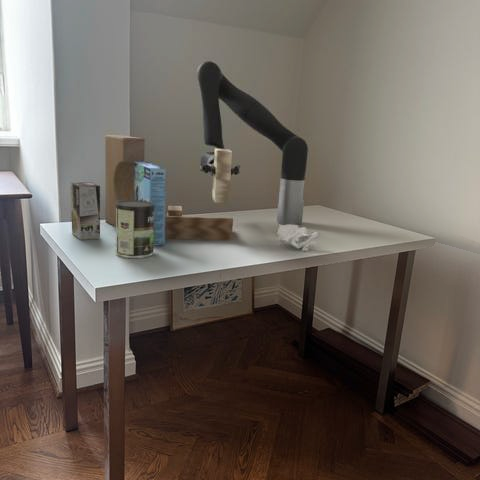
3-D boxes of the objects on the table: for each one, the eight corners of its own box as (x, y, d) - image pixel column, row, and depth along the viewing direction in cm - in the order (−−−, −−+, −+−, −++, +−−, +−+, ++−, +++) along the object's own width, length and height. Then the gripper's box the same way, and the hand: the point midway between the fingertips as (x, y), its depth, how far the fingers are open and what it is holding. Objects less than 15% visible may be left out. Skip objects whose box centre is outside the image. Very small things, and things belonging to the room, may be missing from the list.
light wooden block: (225, 197, 156) (228, 149, 152) (228, 203, 147) (232, 151, 143) (212, 197, 156) (214, 148, 152) (214, 202, 146) (217, 150, 142)
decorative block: (105, 221, 164) (104, 134, 157) (125, 220, 169) (125, 135, 162) (122, 231, 153) (123, 137, 146) (143, 229, 158) (145, 138, 150)
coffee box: (101, 238, 142) (100, 185, 138) (79, 240, 139) (78, 186, 135) (91, 231, 150) (91, 181, 146) (71, 233, 146) (70, 181, 142)
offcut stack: (181, 230, 160) (182, 205, 158) (181, 237, 151) (182, 211, 149) (166, 229, 159) (167, 204, 157) (166, 236, 150) (166, 210, 148)
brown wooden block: (226, 229, 165) (227, 210, 163) (231, 240, 151) (233, 218, 149) (160, 227, 161) (161, 207, 159) (159, 238, 147) (160, 216, 146)
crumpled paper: (269, 227, 147) (297, 217, 153) (268, 245, 150) (296, 236, 156) (294, 242, 138) (323, 232, 144) (293, 262, 142) (321, 251, 148)
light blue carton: (164, 245, 140) (167, 168, 134) (148, 246, 138) (149, 168, 132) (148, 230, 157) (149, 161, 151) (133, 230, 154) (134, 161, 149)
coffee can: (155, 249, 135) (156, 201, 131) (151, 259, 125) (152, 207, 122) (118, 247, 134) (119, 199, 130) (112, 257, 124) (112, 205, 121)
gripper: (198, 153, 161) (200, 158, 144) (239, 156, 163) (246, 160, 146) (197, 175, 163) (199, 182, 146) (237, 177, 165) (244, 184, 148)
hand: (222, 171), depth 146 cm, fingers closed on light wooden block, 4 cm apart
